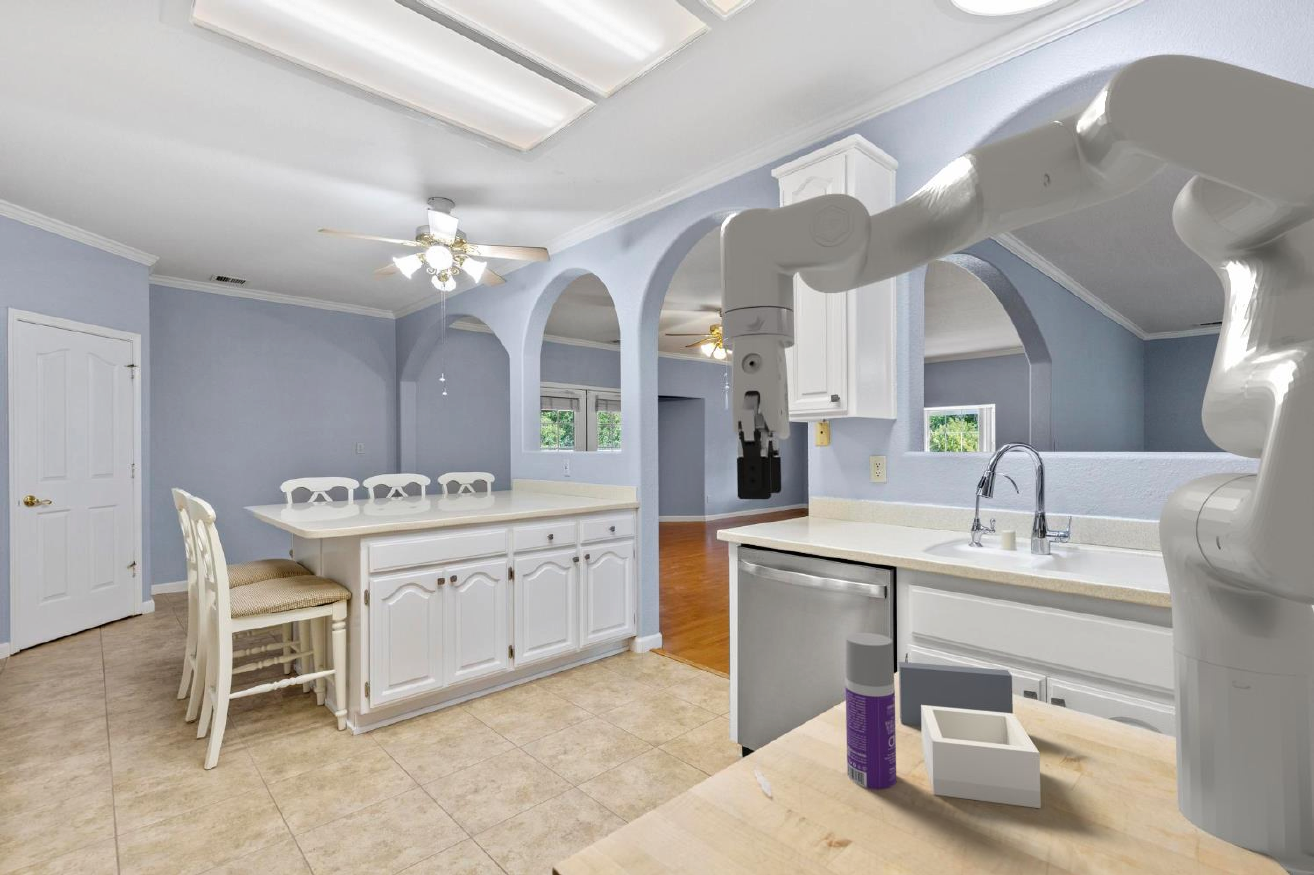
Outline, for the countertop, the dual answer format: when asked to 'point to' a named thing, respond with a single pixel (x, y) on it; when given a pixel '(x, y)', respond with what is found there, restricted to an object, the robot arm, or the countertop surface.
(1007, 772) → the socket block
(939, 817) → the countertop surface
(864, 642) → the container
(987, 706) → the track
